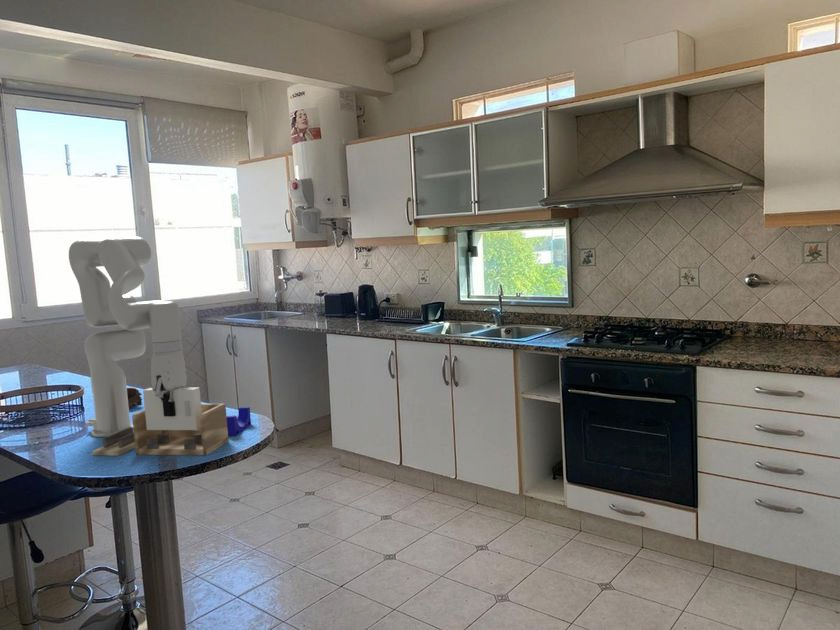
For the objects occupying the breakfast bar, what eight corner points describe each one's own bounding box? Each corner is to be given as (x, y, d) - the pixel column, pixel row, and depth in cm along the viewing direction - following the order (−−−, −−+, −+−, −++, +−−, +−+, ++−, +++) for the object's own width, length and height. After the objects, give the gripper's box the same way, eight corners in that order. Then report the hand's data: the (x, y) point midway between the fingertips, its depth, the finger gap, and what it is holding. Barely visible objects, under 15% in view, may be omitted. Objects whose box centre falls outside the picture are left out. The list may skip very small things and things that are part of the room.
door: (144, 430, 172) (141, 390, 171) (153, 426, 175) (149, 387, 174) (195, 430, 169) (191, 390, 168) (202, 427, 172) (199, 387, 171)
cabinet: (136, 454, 172) (132, 414, 171) (161, 441, 184) (158, 404, 183) (206, 455, 168) (203, 414, 167) (228, 441, 180) (225, 403, 179)
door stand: (92, 455, 174) (91, 442, 173) (134, 436, 191) (132, 424, 191) (118, 455, 172) (117, 442, 172) (158, 436, 190) (156, 424, 189)
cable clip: (237, 426, 197) (235, 407, 197) (251, 425, 197) (249, 406, 196) (221, 437, 185) (219, 417, 185) (235, 437, 185) (234, 416, 184)
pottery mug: (150, 404, 234) (146, 387, 229) (135, 422, 226) (130, 404, 222) (121, 398, 236) (116, 381, 231) (105, 415, 228) (100, 398, 224)
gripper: (172, 343, 179) (178, 407, 181) (135, 352, 163) (142, 422, 165) (196, 342, 178) (202, 406, 179) (162, 352, 162) (169, 422, 163)
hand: (173, 413), depth 172 cm, fingers closed on door, 3 cm apart
